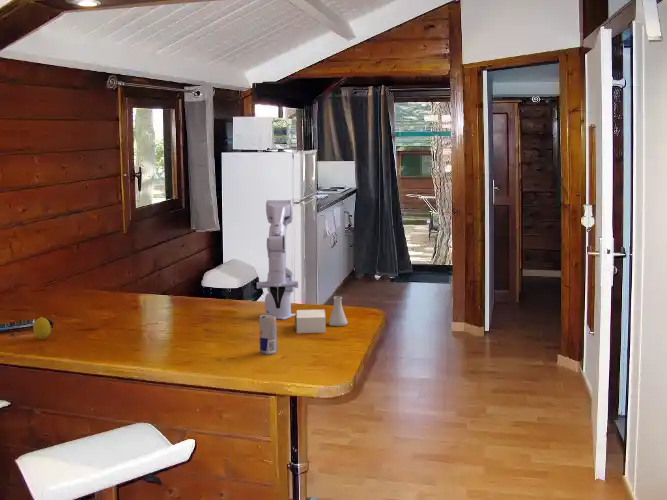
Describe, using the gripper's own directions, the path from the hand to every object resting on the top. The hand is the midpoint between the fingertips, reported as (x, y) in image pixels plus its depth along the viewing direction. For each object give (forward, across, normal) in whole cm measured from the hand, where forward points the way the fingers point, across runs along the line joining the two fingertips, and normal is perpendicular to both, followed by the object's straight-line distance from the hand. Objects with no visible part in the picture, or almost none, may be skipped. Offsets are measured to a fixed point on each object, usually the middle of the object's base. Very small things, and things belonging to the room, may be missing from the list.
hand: (278, 307), depth 265 cm
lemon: (+8, -80, -6) cm, 81 cm away
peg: (+8, +10, 0) cm, 12 cm away
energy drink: (+8, -2, -27) cm, 28 cm away
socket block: (+8, +12, 0) cm, 14 cm away
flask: (+8, +21, +5) cm, 23 cm away
